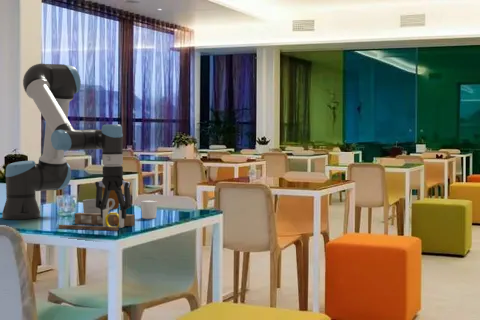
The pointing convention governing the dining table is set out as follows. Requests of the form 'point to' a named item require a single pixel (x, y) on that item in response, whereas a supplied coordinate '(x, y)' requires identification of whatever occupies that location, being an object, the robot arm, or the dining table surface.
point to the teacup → (90, 206)
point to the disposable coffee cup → (112, 196)
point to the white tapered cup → (149, 209)
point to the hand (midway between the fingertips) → (113, 226)
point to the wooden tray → (98, 221)
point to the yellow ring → (108, 216)
